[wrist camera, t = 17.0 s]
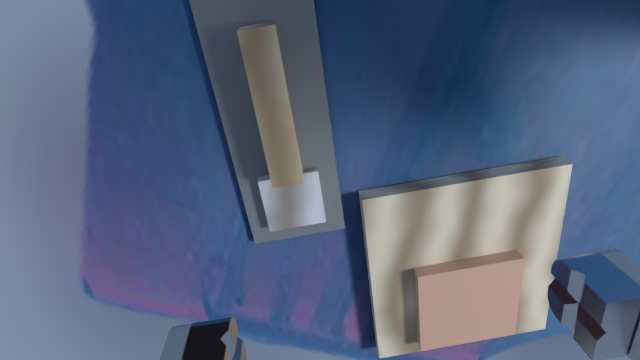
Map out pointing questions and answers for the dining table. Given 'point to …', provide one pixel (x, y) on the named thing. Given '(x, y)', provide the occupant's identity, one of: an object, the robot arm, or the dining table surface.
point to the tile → (467, 299)
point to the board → (461, 237)
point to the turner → (278, 134)
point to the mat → (238, 110)
